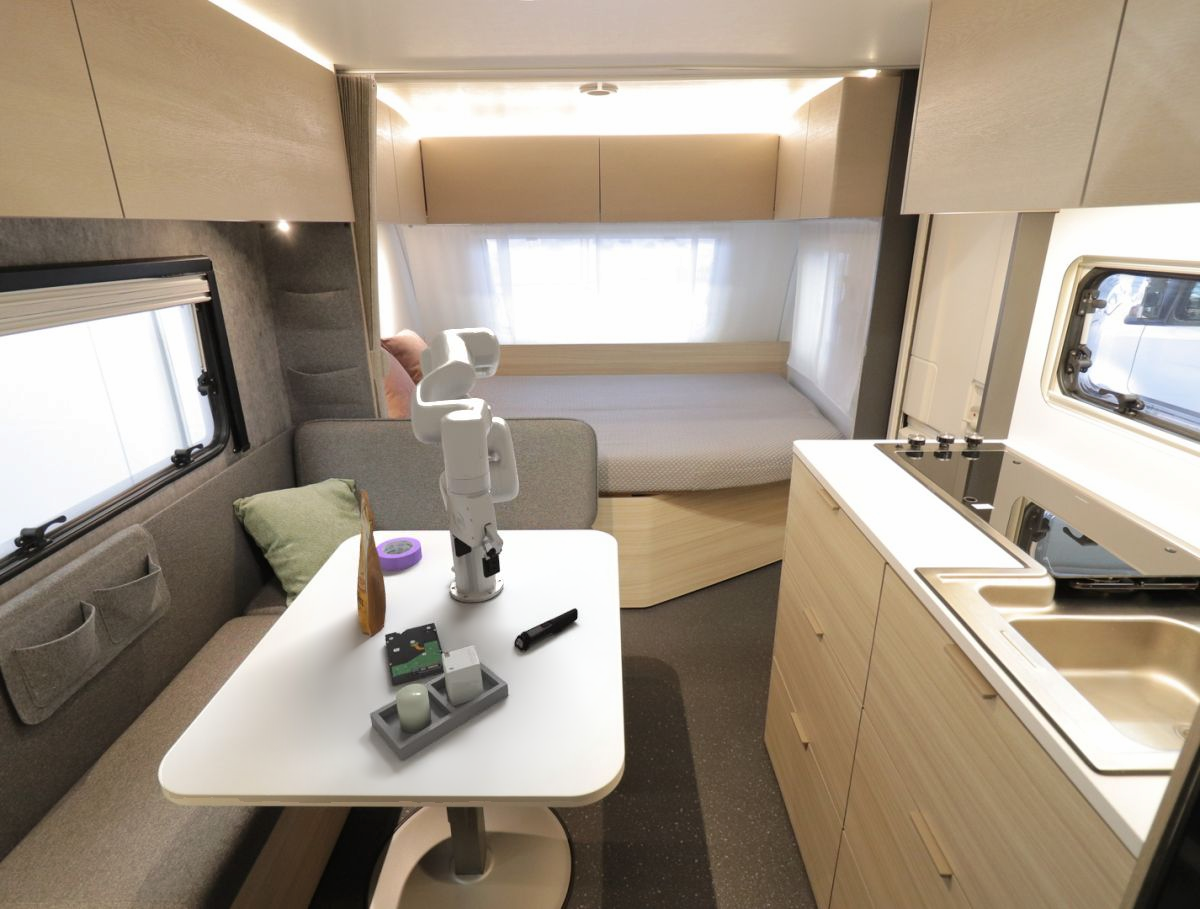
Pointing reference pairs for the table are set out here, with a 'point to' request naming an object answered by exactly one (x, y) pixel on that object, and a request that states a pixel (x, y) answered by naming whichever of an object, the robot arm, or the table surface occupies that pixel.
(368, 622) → the pancake mix bag
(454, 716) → the caddy
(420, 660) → the disk drive
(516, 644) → the electric trimmer
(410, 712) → the sage jar
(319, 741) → the table surface
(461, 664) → the white box
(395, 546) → the masking tape
